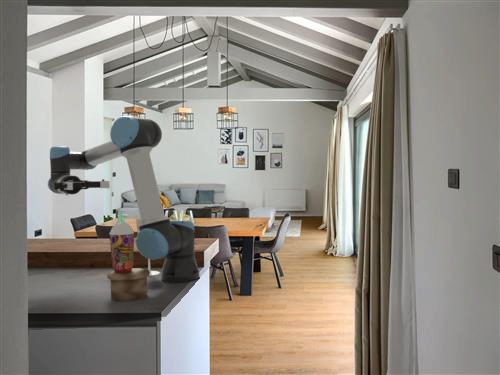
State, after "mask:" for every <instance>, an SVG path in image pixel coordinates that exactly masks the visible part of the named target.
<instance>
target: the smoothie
mask: <svg viewBox="0 0 500 375" xmlns="http://www.w3.org/2000/svg"><path fill="white" fill-rule="evenodd" d="M122 214H123V213H120V216H121V222H119V223H117V224H115V225H114V224H113V225H112V228H111V229H110V232H109V234H108V235H109V243H110V255H111V265H112V267H111V268H112V270H113V271H114V272H115V273H120V274H121V273H129V272H131V271H132V268H134V250H135V247H134V246H135V231H134V229H133V228H132V226H131V225H130V224H129V223H128V224H127V223H125V222H123V219H122Z"/></svg>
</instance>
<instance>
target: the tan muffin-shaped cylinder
mask: <svg viewBox="0 0 500 375" xmlns="http://www.w3.org/2000/svg"><path fill="white" fill-rule="evenodd" d="M150 271H151V270H150ZM150 271H149V270H148V268H137V267H136V268H134V267H133V268H132V271H131V272H129V273H121V274H120V273H115V272H114V270H112V271H110V272H108V273H107V274H106V275H107V276H106V277H107V279H108V280H110V299H112V300H113V301H119V302H127V301H129V302H130V301H136V300H141V299H143V298H146V297H147V296H148V278H147V277H150V276H149V275H150Z"/></svg>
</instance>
